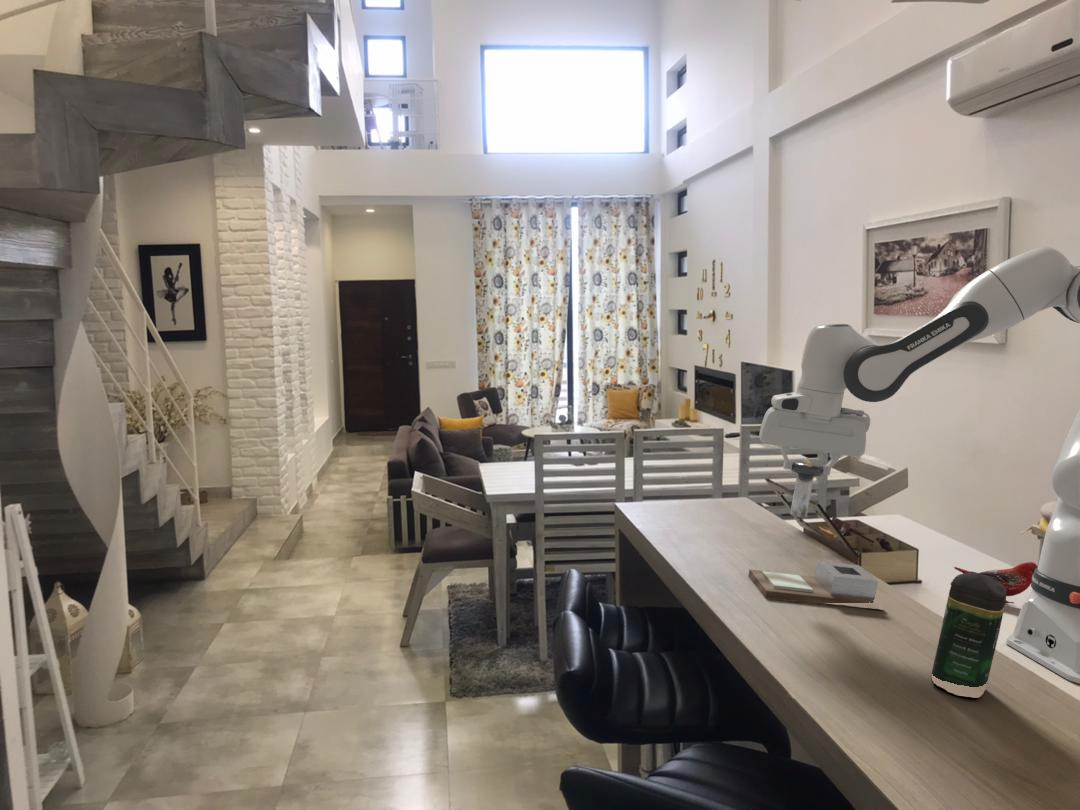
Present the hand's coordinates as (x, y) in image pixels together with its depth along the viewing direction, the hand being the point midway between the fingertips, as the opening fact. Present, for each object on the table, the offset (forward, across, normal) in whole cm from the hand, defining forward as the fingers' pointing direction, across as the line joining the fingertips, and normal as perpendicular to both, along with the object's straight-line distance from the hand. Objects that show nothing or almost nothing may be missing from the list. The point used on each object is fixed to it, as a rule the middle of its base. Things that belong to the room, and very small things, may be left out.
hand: (806, 471), depth 162 cm
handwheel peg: (+9, 0, 0) cm, 9 cm away
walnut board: (+25, -6, -1) cm, 26 cm away
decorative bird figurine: (+25, -46, -15) cm, 55 cm away
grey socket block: (+23, -12, -2) cm, 26 cm away
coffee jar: (+25, -22, +34) cm, 48 cm away
